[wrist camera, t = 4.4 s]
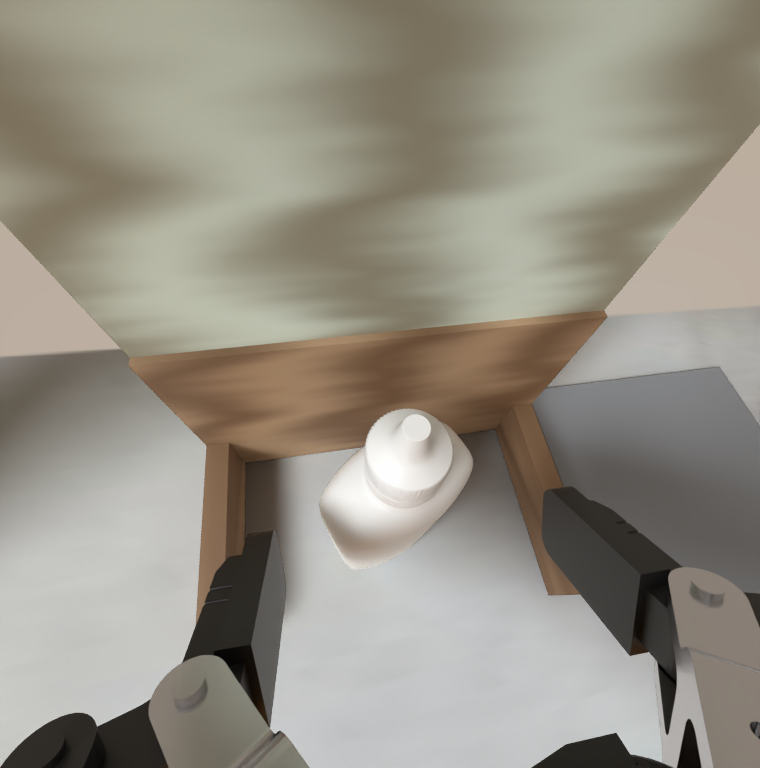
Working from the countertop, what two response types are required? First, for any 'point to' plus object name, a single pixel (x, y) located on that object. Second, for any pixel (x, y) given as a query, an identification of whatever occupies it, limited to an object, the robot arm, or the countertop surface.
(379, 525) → the eye dropper bottle
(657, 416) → the slate mat
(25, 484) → the countertop surface
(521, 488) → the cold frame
